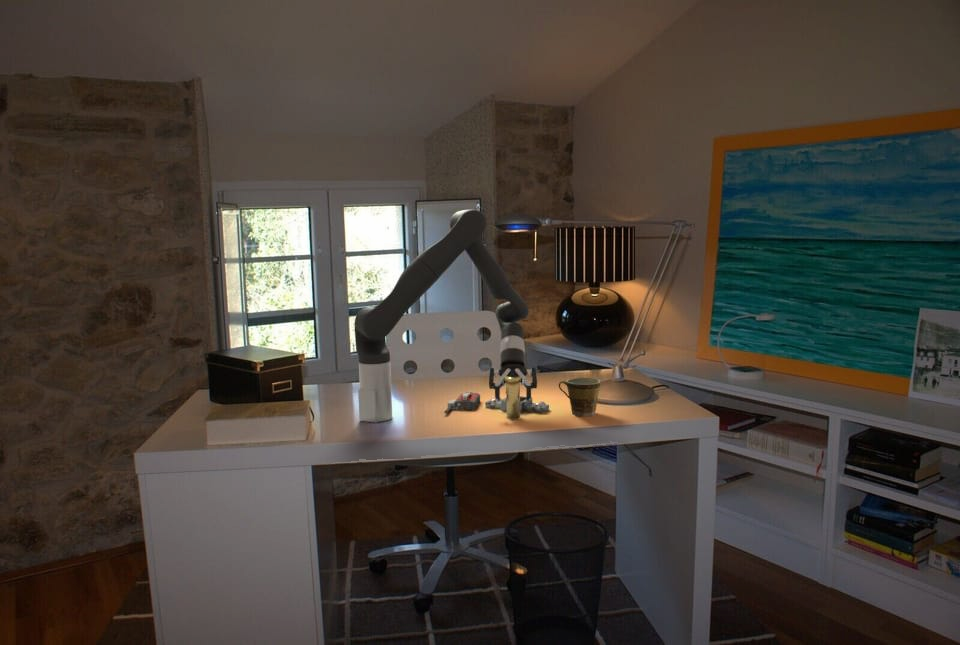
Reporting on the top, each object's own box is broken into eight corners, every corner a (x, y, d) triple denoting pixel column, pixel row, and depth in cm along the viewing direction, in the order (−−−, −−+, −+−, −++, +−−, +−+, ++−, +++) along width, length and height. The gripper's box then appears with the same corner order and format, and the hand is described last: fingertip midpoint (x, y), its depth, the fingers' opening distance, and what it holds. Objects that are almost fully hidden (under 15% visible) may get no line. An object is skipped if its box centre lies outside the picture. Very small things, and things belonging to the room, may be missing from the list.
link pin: (517, 420, 212) (516, 379, 211) (502, 418, 215) (501, 378, 213) (524, 416, 217) (523, 376, 215) (509, 414, 219) (508, 375, 217)
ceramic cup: (605, 411, 220) (605, 379, 218) (593, 419, 211) (592, 385, 210) (565, 407, 226) (565, 375, 225) (552, 414, 218) (551, 381, 217)
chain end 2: (541, 414, 218) (541, 404, 218) (499, 410, 224) (499, 400, 224) (551, 408, 225) (551, 399, 225) (510, 404, 231) (510, 395, 231)
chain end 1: (505, 409, 225) (505, 401, 225) (485, 407, 229) (485, 399, 228) (512, 405, 229) (511, 398, 229) (492, 403, 233) (492, 396, 232)
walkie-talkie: (455, 401, 239) (442, 416, 220) (454, 387, 239) (441, 402, 219) (481, 401, 238) (470, 417, 218) (481, 388, 237) (470, 402, 218)
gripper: (488, 347, 221) (488, 393, 211) (536, 346, 220) (537, 392, 210) (489, 361, 227) (489, 406, 217) (535, 360, 226) (537, 405, 216)
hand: (513, 399), depth 214 cm, fingers open, 8 cm apart
